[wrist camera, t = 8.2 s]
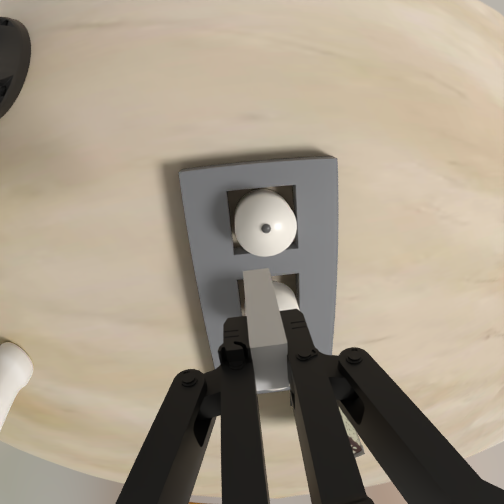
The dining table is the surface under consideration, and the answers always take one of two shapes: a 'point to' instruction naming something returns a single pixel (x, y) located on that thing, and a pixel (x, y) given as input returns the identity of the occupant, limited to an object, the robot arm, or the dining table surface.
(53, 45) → the dining table surface
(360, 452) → the food container
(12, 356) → the bottle
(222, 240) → the button board
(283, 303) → the two dot button
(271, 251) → the one dot button
